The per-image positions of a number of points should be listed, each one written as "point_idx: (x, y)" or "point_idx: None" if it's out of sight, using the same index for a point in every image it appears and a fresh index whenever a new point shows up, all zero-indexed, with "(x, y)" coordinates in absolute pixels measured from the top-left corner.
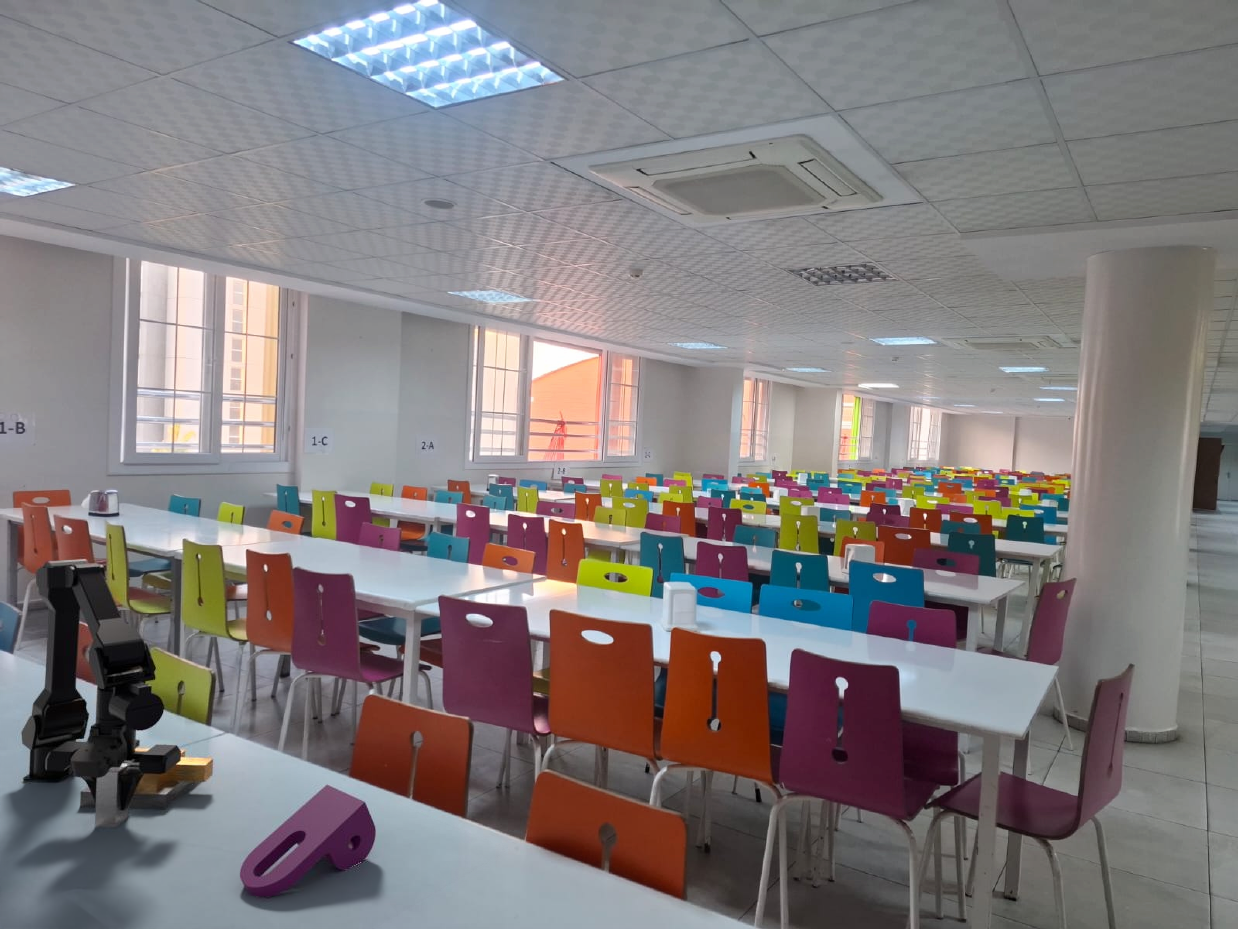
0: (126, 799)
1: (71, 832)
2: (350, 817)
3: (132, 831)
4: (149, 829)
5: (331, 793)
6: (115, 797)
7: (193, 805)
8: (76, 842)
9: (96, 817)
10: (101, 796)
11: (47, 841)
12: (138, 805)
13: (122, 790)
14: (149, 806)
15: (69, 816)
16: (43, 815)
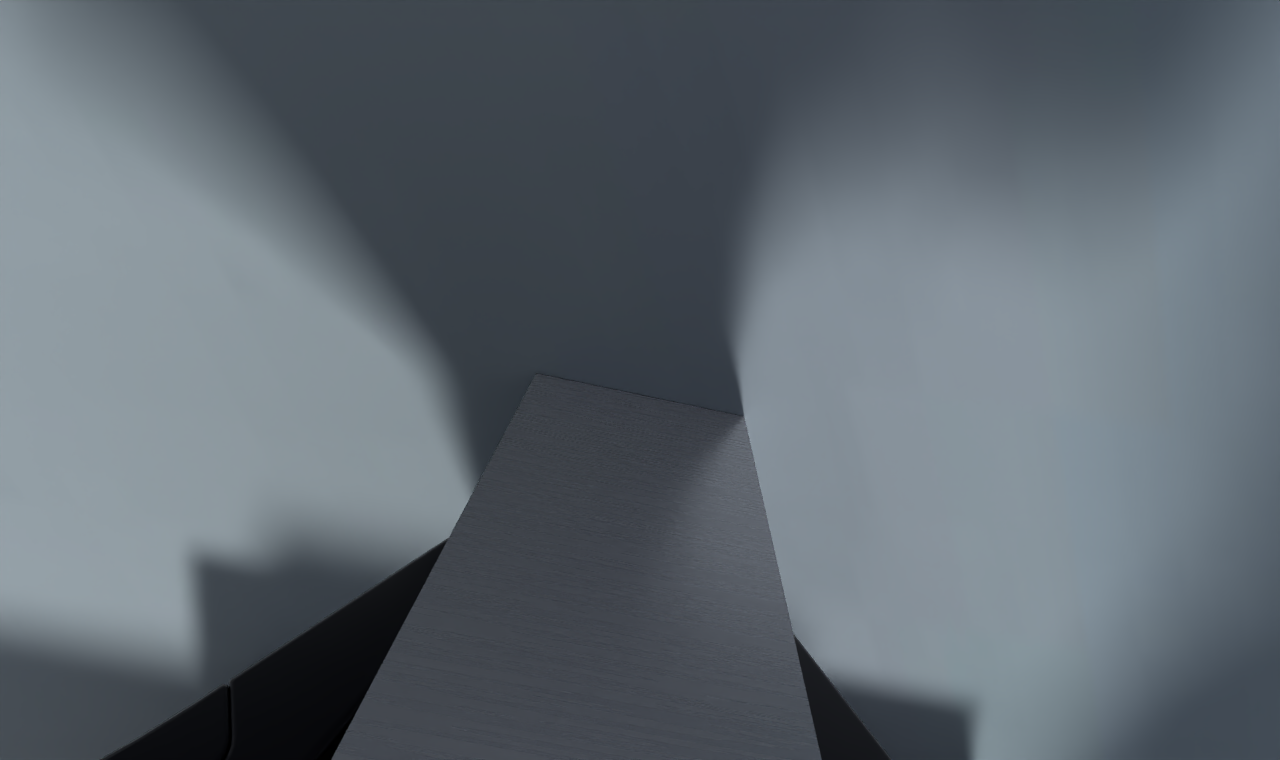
0: (338, 612)
1: (950, 331)
2: None
3: (325, 264)
4: (173, 287)
5: None
6: (438, 600)
7: (58, 695)
8: (841, 53)
9: (740, 464)
10: (702, 661)
11: (1179, 133)
12: None
13: (307, 742)
14: None
15: (1028, 659)
16: (1256, 707)
